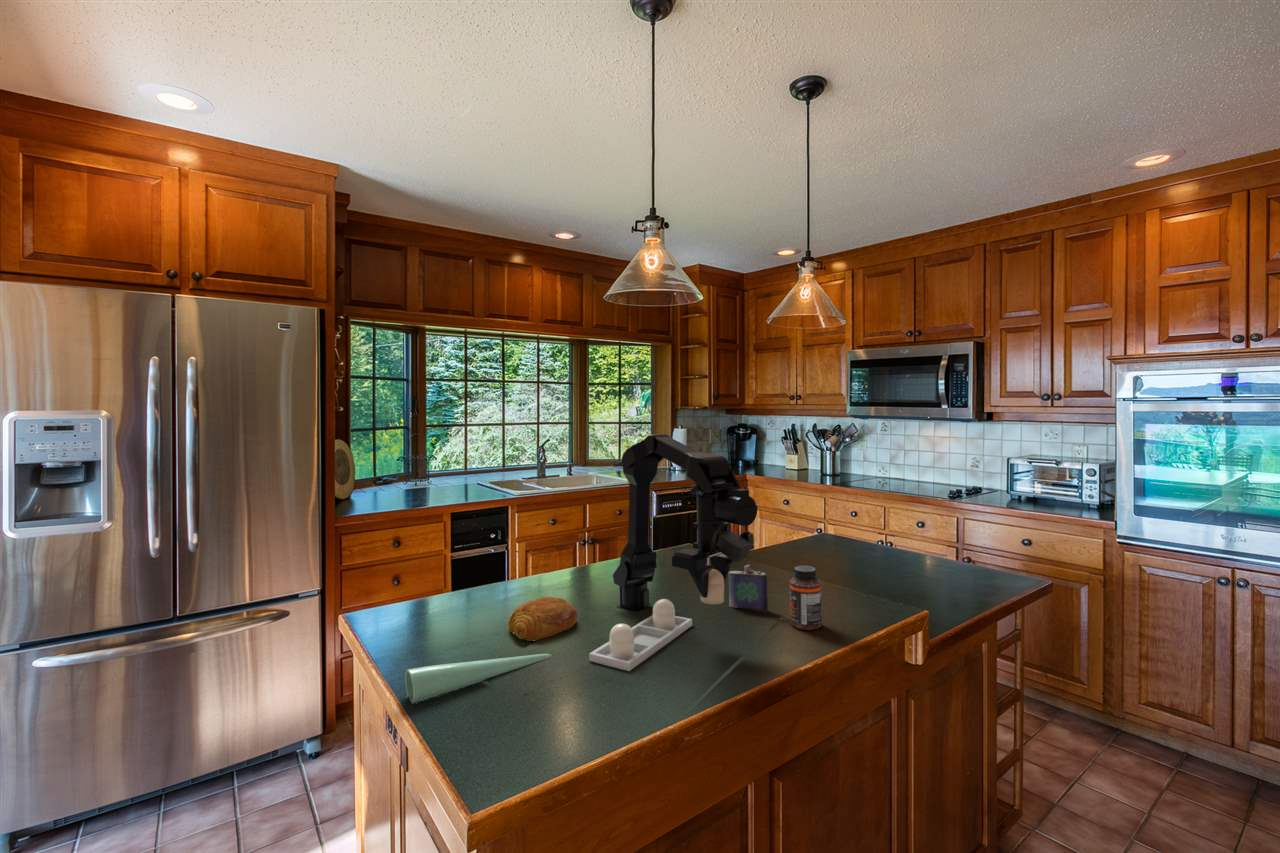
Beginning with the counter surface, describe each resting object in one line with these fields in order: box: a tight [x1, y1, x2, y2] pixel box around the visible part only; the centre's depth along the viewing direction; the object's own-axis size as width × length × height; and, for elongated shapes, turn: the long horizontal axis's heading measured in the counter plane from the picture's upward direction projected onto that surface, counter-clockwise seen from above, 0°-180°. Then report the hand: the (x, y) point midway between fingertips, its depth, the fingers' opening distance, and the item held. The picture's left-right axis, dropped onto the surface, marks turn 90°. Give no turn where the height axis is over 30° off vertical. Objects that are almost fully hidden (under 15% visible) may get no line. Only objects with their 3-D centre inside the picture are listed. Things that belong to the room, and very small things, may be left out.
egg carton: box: [588, 614, 693, 672], centre depth 120 cm, size 9×26×2 cm, turn 148°
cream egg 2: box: [652, 598, 676, 631], centre depth 127 cm, size 5×5×6 cm
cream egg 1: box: [608, 623, 635, 661], centre depth 113 cm, size 5×5×6 cm
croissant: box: [508, 596, 578, 642], centre depth 130 cm, size 14×16×8 cm
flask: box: [727, 564, 769, 612], centre depth 140 cm, size 9×3×11 cm, turn 71°
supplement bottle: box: [789, 565, 823, 631], centre depth 128 cm, size 7×7×13 cm
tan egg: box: [699, 569, 725, 605], centre depth 118 cm, size 5×5×6 cm
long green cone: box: [404, 653, 552, 702], centre depth 107 cm, size 5×6×27 cm
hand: (712, 594), depth 118 cm, fingers closed on tan egg, 5 cm apart
